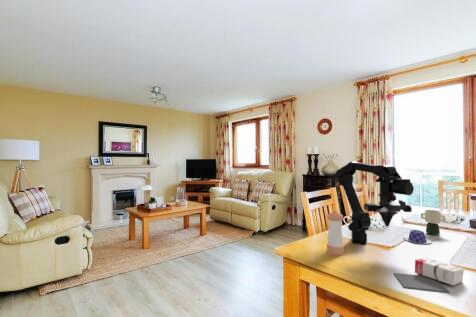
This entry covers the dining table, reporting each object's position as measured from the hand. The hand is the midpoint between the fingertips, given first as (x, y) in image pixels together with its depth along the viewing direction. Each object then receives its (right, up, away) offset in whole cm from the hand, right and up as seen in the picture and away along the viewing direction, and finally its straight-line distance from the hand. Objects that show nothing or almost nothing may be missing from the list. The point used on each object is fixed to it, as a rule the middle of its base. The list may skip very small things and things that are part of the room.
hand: (386, 226), depth 118 cm
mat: (-5, -12, -28) cm, 31 cm away
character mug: (+42, -12, +27) cm, 51 cm away
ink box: (+1, -9, -20) cm, 22 cm away
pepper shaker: (-24, -12, 0) cm, 27 cm away
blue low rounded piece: (+25, -12, +16) cm, 32 cm away
